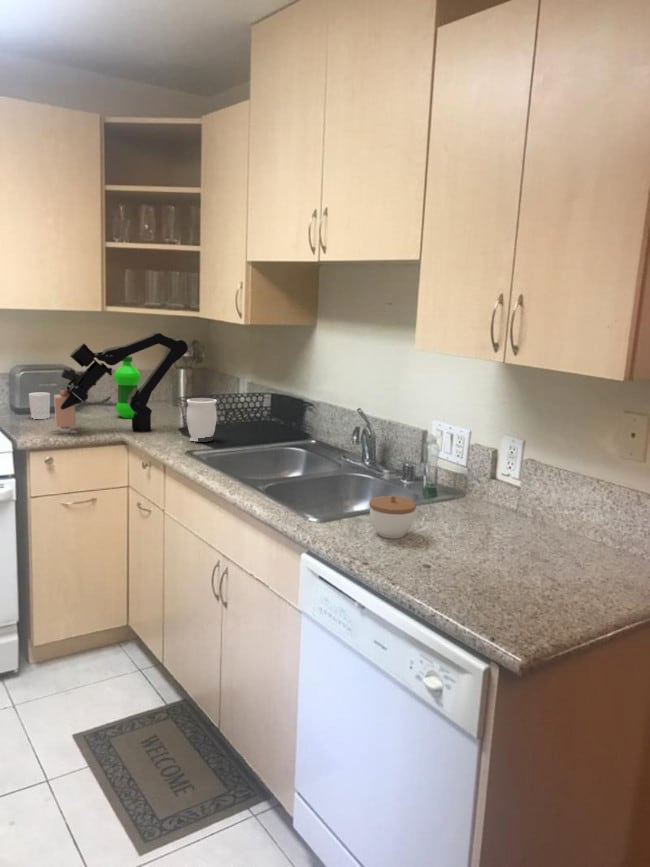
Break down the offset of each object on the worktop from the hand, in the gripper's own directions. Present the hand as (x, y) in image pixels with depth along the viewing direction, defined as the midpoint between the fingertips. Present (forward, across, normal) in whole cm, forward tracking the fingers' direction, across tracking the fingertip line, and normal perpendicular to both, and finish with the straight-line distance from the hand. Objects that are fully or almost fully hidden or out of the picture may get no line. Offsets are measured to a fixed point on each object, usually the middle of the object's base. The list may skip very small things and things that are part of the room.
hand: (60, 407), depth 253 cm
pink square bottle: (+4, 0, +6) cm, 7 cm away
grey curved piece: (+6, 0, +8) cm, 10 cm away
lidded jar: (-38, +130, +53) cm, 146 cm away
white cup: (+12, -33, +3) cm, 35 cm away
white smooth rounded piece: (+6, 0, +8) cm, 9 cm away
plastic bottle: (-12, -28, +27) cm, 40 cm away
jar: (-25, +23, +40) cm, 52 cm away
